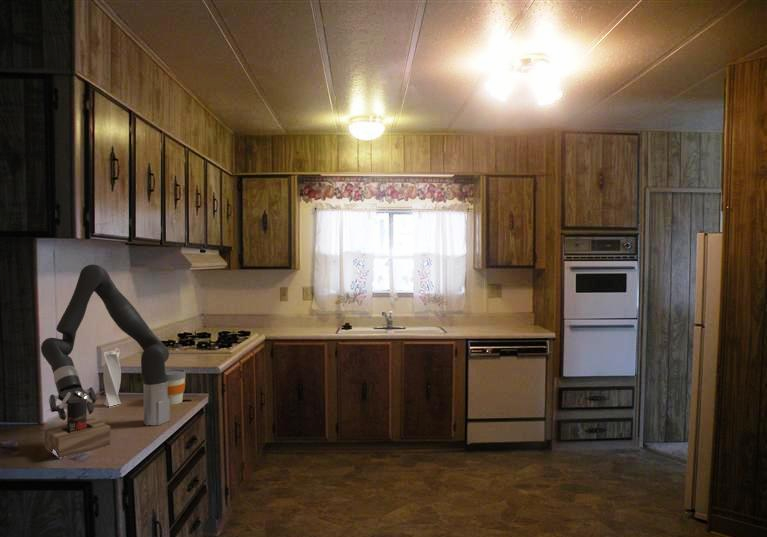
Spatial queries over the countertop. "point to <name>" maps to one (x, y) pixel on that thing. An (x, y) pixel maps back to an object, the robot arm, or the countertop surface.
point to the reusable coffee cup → (175, 385)
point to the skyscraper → (112, 377)
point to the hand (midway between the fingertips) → (78, 415)
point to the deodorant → (76, 415)
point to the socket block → (77, 438)
